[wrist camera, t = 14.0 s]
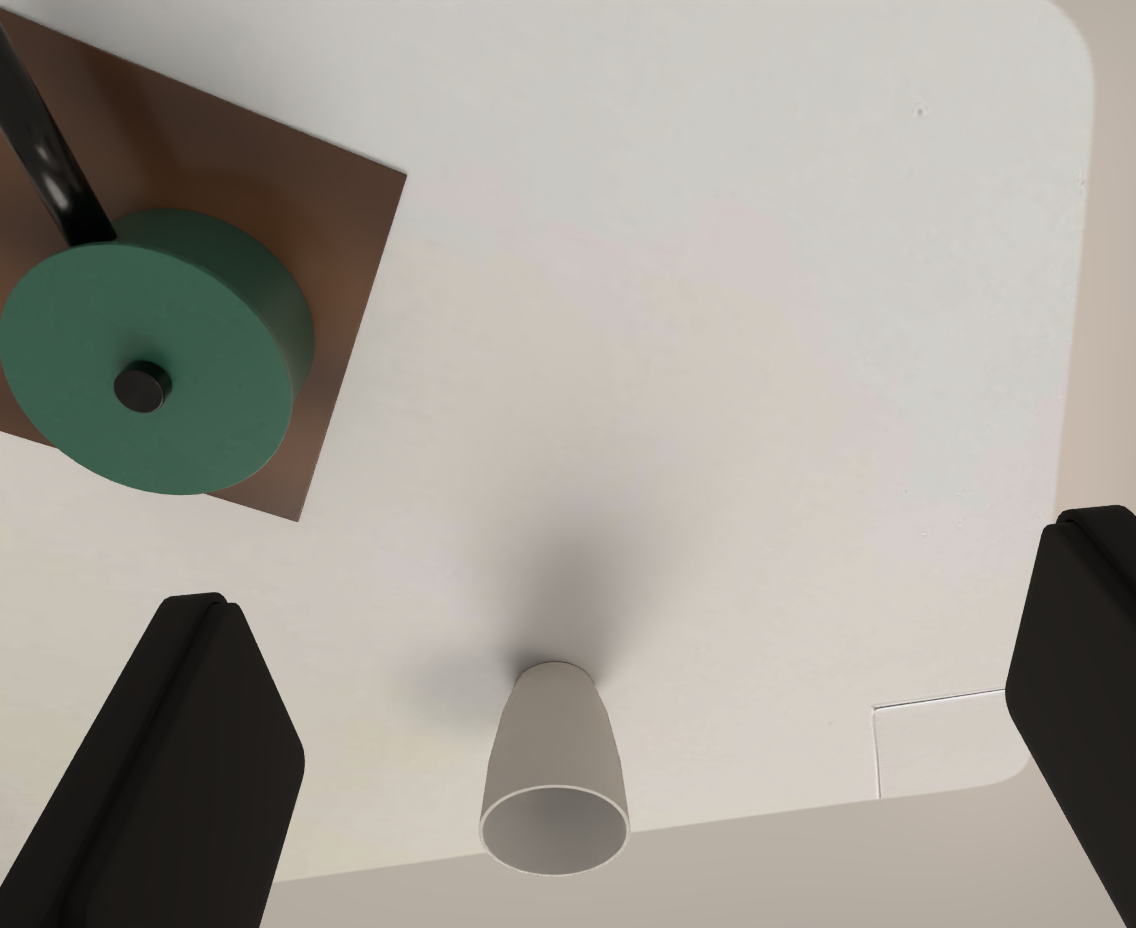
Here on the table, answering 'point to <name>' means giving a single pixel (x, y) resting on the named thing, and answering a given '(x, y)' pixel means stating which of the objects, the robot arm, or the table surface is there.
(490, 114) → the table surface
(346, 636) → the table surface
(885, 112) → the table surface
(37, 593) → the table surface
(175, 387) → the saucepan
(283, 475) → the trivet
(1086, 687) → the robot arm
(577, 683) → the cup
